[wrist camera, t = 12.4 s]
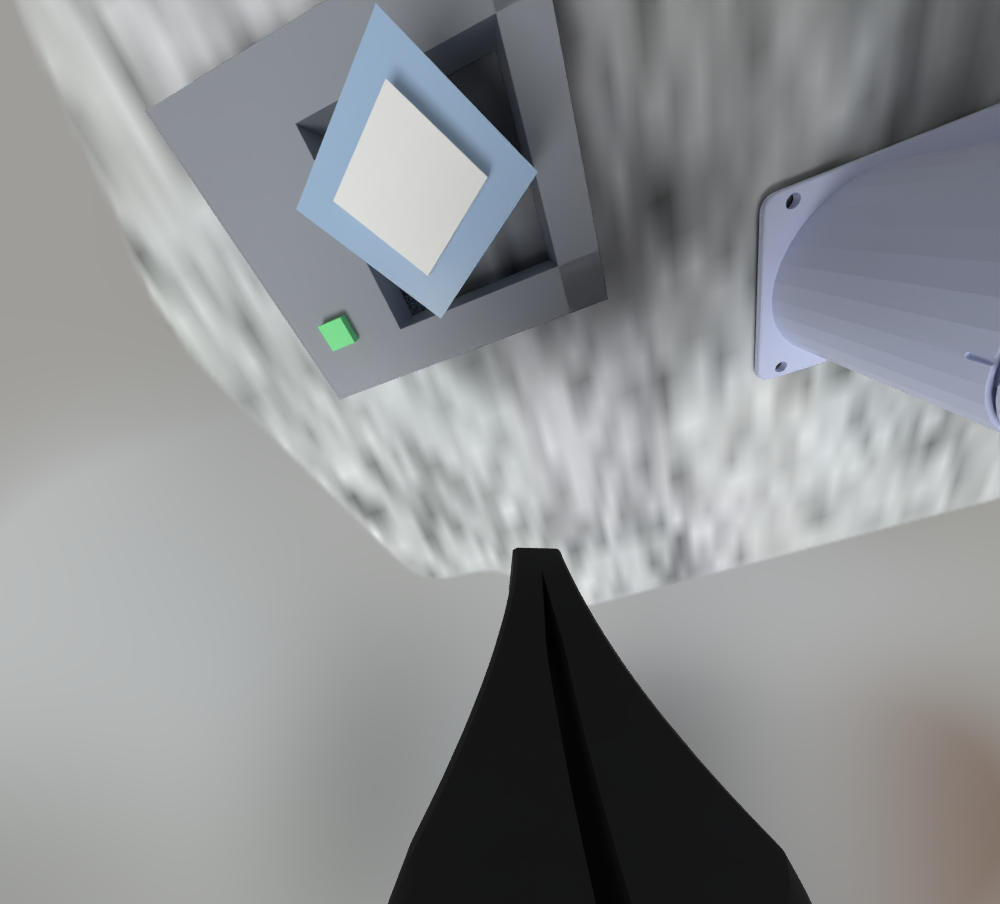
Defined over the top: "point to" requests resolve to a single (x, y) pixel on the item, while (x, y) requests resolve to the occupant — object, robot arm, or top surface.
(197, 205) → the top surface
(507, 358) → the top surface
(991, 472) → the top surface
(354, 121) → the plug
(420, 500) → the top surface
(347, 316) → the frame
